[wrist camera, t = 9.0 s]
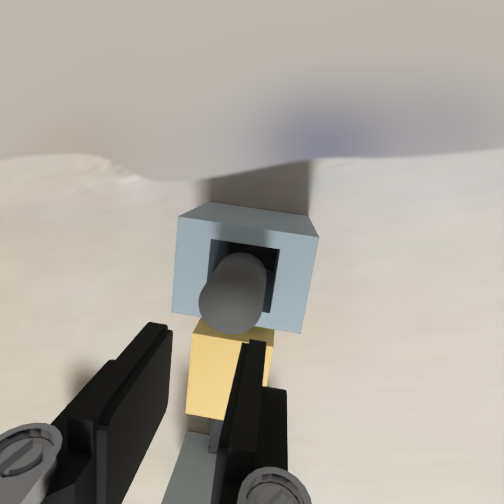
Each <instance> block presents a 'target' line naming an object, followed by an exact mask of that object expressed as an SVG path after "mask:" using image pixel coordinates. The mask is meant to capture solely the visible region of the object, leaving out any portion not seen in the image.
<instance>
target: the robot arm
mask: <svg viewBox="0 0 504 504" xmlns="http://www.w3.org/2000/svg"><path fill="white" fill-rule="evenodd" d="M172 339H173V331H172V330H168V326H167V325H165V324H159V323H153V322H148V323H147V324H146V325H145V327H144V328H143V329H142V330H141V331H140V332H139V334H138V335H137V336H136V337H135V338H134V339H133V340H132V342H131V343H130V344H129V345H128V346H127V347H126V348H125V350H124V351H123V352H122V353H121V354H120V355H119V357H118V358H117V359H116V360H113V359H112V360H109V361H108V362H107V363H105V365H104V366H103V367H102V368H101V369H100V370H99V371H98V372H97V373H96V374H95V376H94V377H93V378H92V379H91V380H90V381H89V382H88V383H87V384H86V386H85V387H84V388H83V389H82V390H81V391H80V392H79V393H78V394H77V395H76V397H75V398H74V399H73V400H72V401H71V402H70V403H69V404H68V405H67V407H66V408H65V409H64V410H63V411H62V412H61V413H60V414H59V415H58V416H57V418H56V419H55V420H54V421H53V422H52V423H51V424H47V423H31V424H25V425H21V426H18V427H16V428H13V429H10V430H8V431H6V432H5V433H3V434H1V435H0V504H122V502H123V499H124V497H125V495H126V493H127V491H128V489H129V487H130V485H131V483H132V481H133V479H134V477H135V474H136V472H137V470H138V468H139V466H140V464H141V462H142V460H143V458H144V456H145V454H146V452H147V450H148V447H149V445H150V443H151V441H152V439H153V437H154V435H155V433H156V431H157V429H158V427H159V425H160V423H161V420H162V418H163V416H164V414H165V412H166V409H167V404H168V395H169V381H170V367H171V353H172ZM266 344H267V342H266V341H260V340H254V339H249V343H243V342H242V345H241V349H240V353H239V357H238V362H237V366H236V370H235V374H234V378H233V383H232V387H231V391H230V395H229V400H228V404H227V408H226V412H225V417H224V421H223V425H222V429H221V434H220V438H219V443H218V449H217V456H216V463H215V471H214V479H213V487H212V494H211V502H210V504H312V503H311V498H310V496H309V494H308V492H307V490H306V488H305V486H304V485H303V484H302V483H301V482H300V481H299V479H298V478H297V477H295V476H294V475H292V474H291V473H289V472H288V453H287V392H286V390H283V389H277V388H271V387H266V386H262V385H263V375H264V364H265V354H266Z"/></svg>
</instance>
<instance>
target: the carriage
mask: <svg viewBox="0 0 504 504" xmlns="http://www.w3.org/2000/svg"><path fill="white" fill-rule="evenodd" d="M249 339H254V340H260V341H266V342H267V344H266V354H265V364H264V375H263V385H262V386H266V387H267V381H268V375H269V369H270V363H271V357H272V351H273V342H274V329H269V328H263V327H257V326H254V327H253V328H251V329H250V330H248V331H246V332H244V333H241V334H236V335H229V334H224V333H220V332H218V331H216V330H214V329H213V328H211V327H210V326H209V325H208V324H207V323H206V322H205V321H204V319H203V318H202V317H201V319H200V320H199V322H198V324H197V326H196V328H195V329H194V331H193V333H192V344H191V355H190V366H189V377H188V388H187V399H186V410H185V413H186V414H192V415H197V416H202V417H208V418H213V419H219V420H224V417H225V412H226V408H227V404H228V400H229V395H230V391H231V387H232V383H233V378H234V374H235V370H236V366H237V362H238V357H239V353H240V349H241V345H242V342H243V343H249Z"/></svg>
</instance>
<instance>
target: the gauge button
mask: <svg viewBox="0 0 504 504" xmlns="http://www.w3.org/2000/svg"><path fill="white" fill-rule="evenodd" d="M266 281H267V274H266V270H265V267H264V265H263V264H262V262H261V261H260V260H259V259H258V258H256V257H255V256H253V255H251V254H249V253H245V252H236V253H232V254H229V255H228V256H226V257H225V258H223V259H222V260H221V262H220V263H219V265H218V266H217V268H216V269H215V271H214V272H213V274H212V275H211V277H210V278H209V280H208V281H207V283H206V284H205V286H204V287H203V289H202V290H201V293H200V295H199V301H198V305H199V311H200V314H201V316H202V318H203V319H204V321H205V322H206V323H207V324H208V325H209V326H210V327H211V328H213V329H214V330H216V331H218V332H220V333H224V334H229V335H236V334H241V333H244V332H246V331H248V330H250V329H251V328H253V327H254V326H255V325H256V323H257V322H258V321H259V319H260V316H261V313H262V308H263V301H264V295H265V288H266Z"/></svg>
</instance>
